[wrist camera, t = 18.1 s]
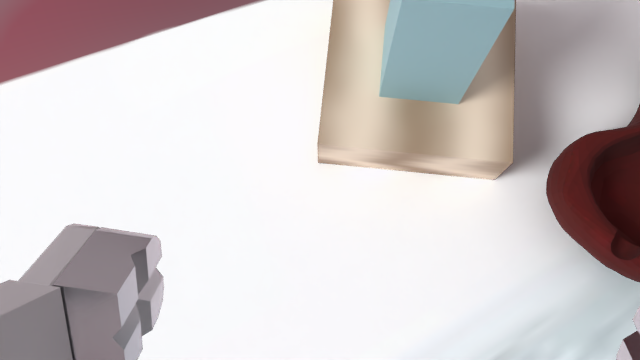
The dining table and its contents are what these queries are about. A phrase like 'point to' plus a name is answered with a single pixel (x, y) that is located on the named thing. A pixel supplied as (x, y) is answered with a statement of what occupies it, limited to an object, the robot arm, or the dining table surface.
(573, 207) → the ashtray
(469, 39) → the teal block
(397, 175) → the dining table surface
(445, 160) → the plinth
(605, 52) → the dining table surface
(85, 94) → the dining table surface
